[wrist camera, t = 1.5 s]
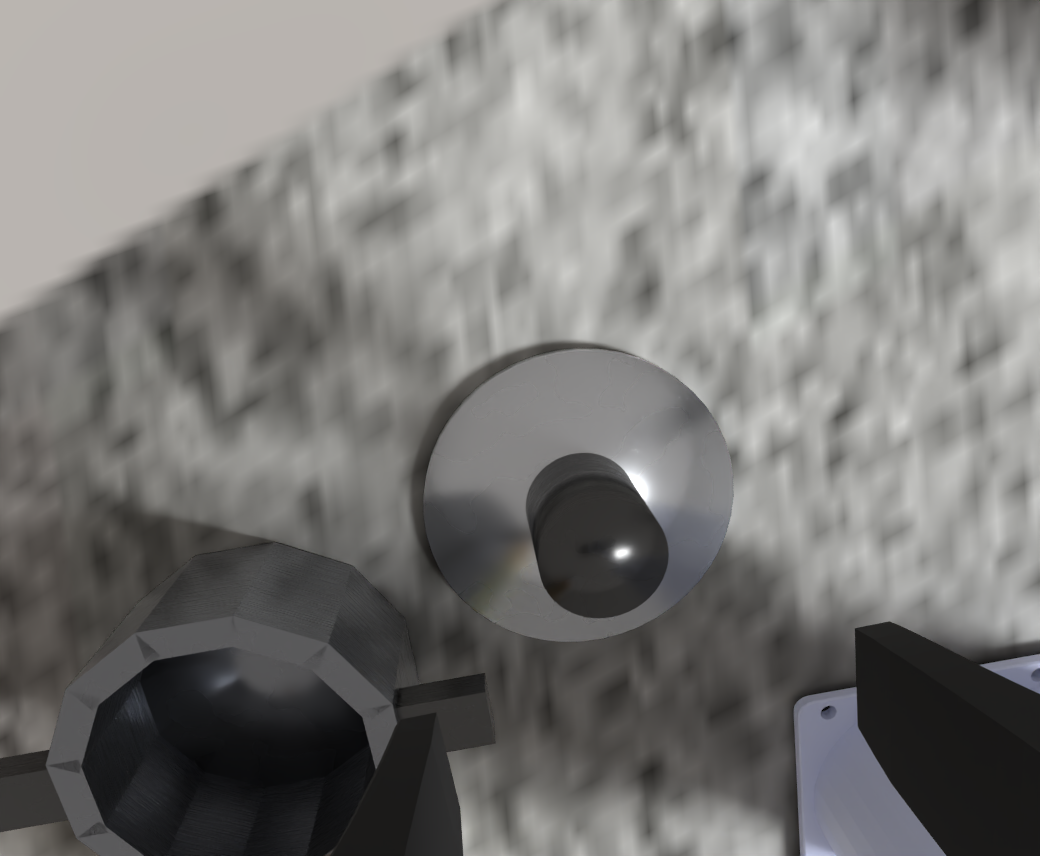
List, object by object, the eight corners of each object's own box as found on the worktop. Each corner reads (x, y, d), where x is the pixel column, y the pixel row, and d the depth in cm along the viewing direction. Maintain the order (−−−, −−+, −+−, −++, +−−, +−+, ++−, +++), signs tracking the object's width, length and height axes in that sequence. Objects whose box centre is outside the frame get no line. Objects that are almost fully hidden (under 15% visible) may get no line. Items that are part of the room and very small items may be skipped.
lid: (712, 320, 20) (773, 347, 16) (735, 599, 23) (793, 679, 19) (394, 377, 20) (379, 418, 16) (456, 653, 23) (456, 746, 19)
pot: (462, 510, 21) (461, 576, 17) (507, 751, 24) (516, 856, 20) (4, 588, 21) (-100, 673, 17) (100, 824, 23) (28, 945, 19)
